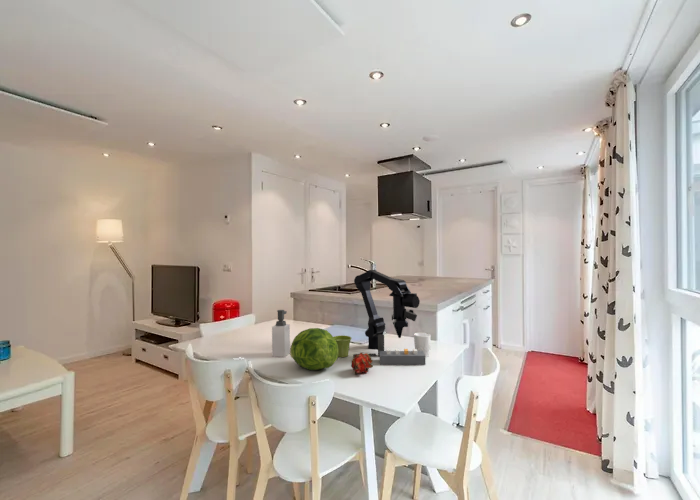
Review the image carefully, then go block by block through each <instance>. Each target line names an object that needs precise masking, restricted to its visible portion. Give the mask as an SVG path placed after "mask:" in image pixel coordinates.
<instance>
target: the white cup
mask: <svg viewBox="0 0 700 500" xmlns="http://www.w3.org/2000/svg"><path fill="white" fill-rule="evenodd" d="M431 338H432V337H431V333H428V332H415V333H414V334H413V339H414V340H413V341H414V349H417V351H423V352H424V354H425V358H428V357H430V355H431V352H430V350H431Z"/></svg>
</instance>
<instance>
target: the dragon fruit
mask: <svg viewBox="0 0 700 500" xmlns="http://www.w3.org/2000/svg"><path fill="white" fill-rule="evenodd" d="M359 354H360V355H355V357H353V358H352V359H351V365H350V367H351V368H352V370H353V371H355V372H354V374H355V375H357V374H362V373H364V374H367V373H368V372H369V370H370V369H372V368H374V364H372V363H373V359H372V356H369V355H368V354H369V353H367V352H365V353H363V352H359Z"/></svg>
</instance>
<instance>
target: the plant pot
mask: <svg viewBox="0 0 700 500" xmlns="http://www.w3.org/2000/svg"><path fill="white" fill-rule="evenodd" d="M333 337H334V339H335V340H336V342H337V345H338V357H337V358H347V357H348V356H349V351H350V343H351V340H352V337H351V336H349V335H344V334H343V335H335V336H333Z"/></svg>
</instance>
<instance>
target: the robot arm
mask: <svg viewBox="0 0 700 500" xmlns="http://www.w3.org/2000/svg"><path fill="white" fill-rule="evenodd" d="M373 280H375V281H377V282H378V283H381V284H383V285H385V286H387V288H388V289H389V290H390V291H392V292H391V293H390V294H389V297H392V311H393V312H392V314H391V321H392V324H393V327H394V331H395V332H396V335H397V338H398V339H401V337H402V333H403V329H404V328H408V327H409V322H408V320H410V321H413V322H416V319H417V317H418V314H417V313H415V312H414V310H413V309H412V308H414V309H417V308H418V307H419V305H420V304H421V303H420V302H421V301H420V298H419V295H417V294H418V293H415V292H414V293H412V292H411V289H409V287H408V285H407V282H406V281H405V280H404V279H400V278H393V277H390V276H389V275H386V274H384V273H381V272H379V271H377V270H376V269H369V270H367V271H365V272H363V273H361V274H359V275H356V276H355V278H354V280H353V282H354V285H355V287H356V289H357V290H358V291H359V292H360V293H361V297H362V301H363V303H364V306H365V309H366V313H367V316H368V321H367V327H368V328H367V329H366V330H365V332H364V335H365V337H367V338H368V339H367V341H368V342H367V343H368V345H367V348H368V349H369V350H378V335H379V334H383V335H384V332H385V329H386V322H385V321H384V318H383V317H380V316H379V314H378V312H377V308H376V304H375V301H374V299H373V295H372V292H371V287H372V284H371V282H372V281H373ZM407 308H410V309H409V310H407Z"/></svg>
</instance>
